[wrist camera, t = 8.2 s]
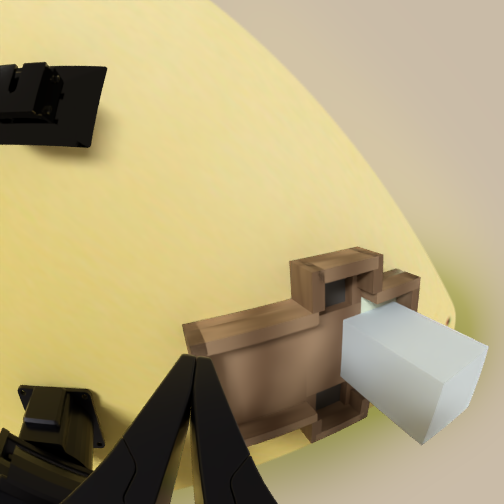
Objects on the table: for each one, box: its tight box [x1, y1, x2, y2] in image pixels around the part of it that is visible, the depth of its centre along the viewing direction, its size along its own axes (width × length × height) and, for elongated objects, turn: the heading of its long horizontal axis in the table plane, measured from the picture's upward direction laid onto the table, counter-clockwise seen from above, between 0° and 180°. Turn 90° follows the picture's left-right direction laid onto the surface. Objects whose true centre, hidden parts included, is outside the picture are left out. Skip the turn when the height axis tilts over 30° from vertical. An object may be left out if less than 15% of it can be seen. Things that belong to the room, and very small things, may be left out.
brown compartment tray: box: [182, 247, 421, 447], centre depth 24 cm, size 20×17×3 cm
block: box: [340, 301, 488, 445], centre depth 21 cm, size 6×6×11 cm
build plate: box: [0, 62, 107, 148], centre depth 13 cm, size 12×7×5 cm, turn 81°
